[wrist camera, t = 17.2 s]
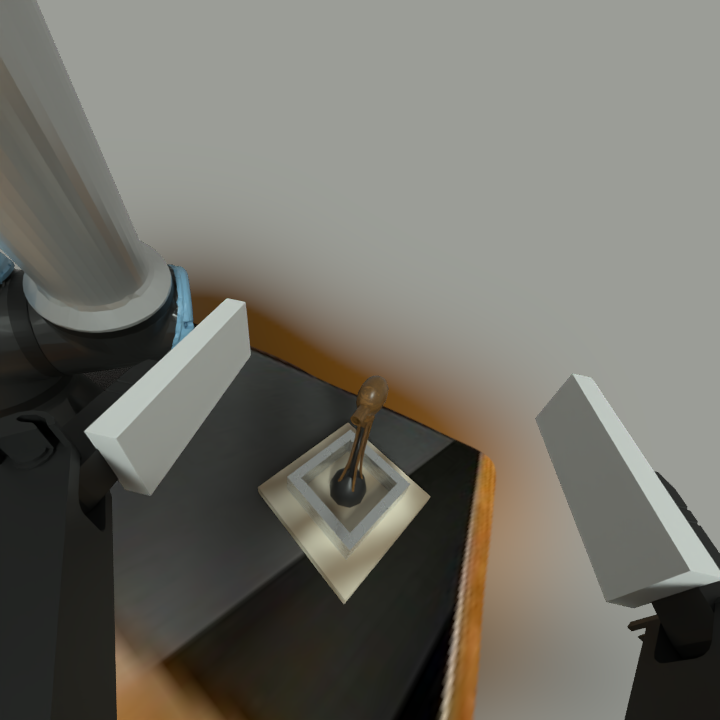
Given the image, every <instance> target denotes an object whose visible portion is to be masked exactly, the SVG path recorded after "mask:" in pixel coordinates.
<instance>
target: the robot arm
mask: <svg viewBox="0 0 720 720" xmlns="http://www.w3.org/2000/svg"><path fill="white" fill-rule="evenodd" d="M0 249H2V250H3V251H4V253H6V254H7V255H8V256H9V257H10V258H11V259H12V260H13V261H14V262H15V263H16V264H17V265H18V266H19V267H20V268H21V269H22V270H18V269H14V263H13V262H12V261H11V260H10V259H8V258H7V257H6V256H5V255H4V254H2V253H1V252H0V720H117V708H116V664H115V621H114V577H113V533H112V496H111V493H110V488H111V487H112V486H113V485H114V484H115V482H116V481H117V480H118V481H119V482H120V483H121V485H122V486H123V488H124V489H125V490H128V491H132V492H137V493H141V494H145V495H150V496H151V495H152V493H153V492H154V490H155V489H156V488H157V486H158V485H159V483H160V482H161V481H162V479H163V478H164V476H165V475H166V474H167V472H168V471H169V469H170V468H171V467H172V465H173V464H174V462H175V461H176V460H177V458H178V457H179V455H180V454H181V453H182V451H183V450H184V448H185V447H186V446H187V444H188V443H189V441H190V440H191V439H192V437H193V436H194V434H195V433H196V432H197V430H198V429H199V427H200V426H201V425H202V423H203V422H204V420H205V419H206V417H207V416H208V415H209V413H210V412H211V410H212V409H213V408H214V406H215V405H216V403H217V402H218V401H219V399H220V398H221V396H222V395H223V394H224V392H225V391H226V389H227V388H228V387H229V385H230V384H231V382H232V381H233V380H234V378H235V377H236V375H237V374H238V373H239V371H240V370H241V368H242V367H243V366H244V364H245V363H246V361H247V360H248V359H249V357H250V356H251V352H250V342H249V332H248V322H247V313H246V303H245V302H242V301H237V300H233V299H229V298H227V299H225V300H224V301H223V302H222V303H221V304H220V305H219V306H218V307H217V308H216V309H215V310H214V311H213V312H212V313H210V314H209V315H208V316H207V317H206V318H205V319H204V320H203V321H202V322H201V323H200V324H199V325H198V326H196V327H195V328H194V324H193V310H192V301H191V293H190V286H189V279H188V274H187V272H186V270H185V269H184V268H182V267H179V266H174V265H167V263H166V262H165V260H164V259H163V257H162V256H161V255H160V254H159V253H158V252H157V251H156V250H155V249H153V248H152V247H151V246H149V245H147V244H146V243H144V242H142V241H140V240H139V238H138V236H137V233H136V231H135V229H134V226H133V224H132V222H131V220H130V217H129V215H128V213H127V210H126V208H125V206H124V204H123V201H122V199H121V196H120V194H119V192H118V189H117V187H116V185H115V182H114V180H113V178H112V175H111V173H110V171H109V168H108V166H107V164H106V161H105V159H104V157H103V154H102V152H101V150H100V147H99V145H98V143H97V140H96V138H95V136H94V134H93V131H92V129H91V127H90V124H89V122H88V119H87V117H86V115H85V113H84V110H83V108H82V106H81V103H80V101H79V99H78V96H77V94H76V92H75V89H74V87H73V85H72V82H71V80H70V78H69V75H68V73H67V71H66V68H65V66H64V64H63V61H62V59H61V57H60V54H59V52H58V50H57V47H56V45H55V43H54V40H53V38H52V36H51V34H50V31H49V29H48V26H47V24H46V22H45V19H44V17H43V15H42V13H41V10H40V8H39V6H38V3H37V1H36V0H0ZM126 367H131V368H130V369H129V370H127V371H126V372H125V373H124V374H123V375H122V376H120V377H119V378H118V379H117V382H114V383H112V384H111V385H110V386H109V387H108V388H107V389H106V391H105V390H104V389H103V388H102V387H100V386H99V385H98V384H96V383H95V382H93V381H92V380H91V379H89V378H88V377H86V376H85V375H83V374H82V373H88V372H96V371H103V370H111V369H119V368H126ZM535 419H536V422H537V424H538V427H539V430H540V432H541V435H542V437H543V440H544V442H545V445H546V447H547V450H548V453H549V455H550V458H551V461H552V463H553V466H554V468H555V471H556V474H557V476H558V479H559V481H560V484H561V486H562V489H563V492H564V494H565V497H566V499H567V502H568V505H569V507H570V509H571V512H572V515H573V517H574V520H575V522H576V525H577V528H578V530H579V533H580V536H581V538H582V541H583V543H584V546H585V548H586V551H587V553H588V556H589V559H590V561H591V564H592V567H593V569H594V572H595V574H596V577H597V579H598V582H599V584H600V587H601V590H602V592H603V595H604V598H605V600H606V602H609V603H613V604H617V605H622V606H626V607H630V608H636V607H639V606H642V605H645V604H649V603H652V605H653V607H654V609H655V611H656V613H657V615H653V616H650V617H646V618H643V619H640V620H636V621H632V622H630V624H629V625H628V628H629V629H630V630H631V631H634V630H638V629H642V628H646V631H645V634H643V635H640V636H638V638H639V639H641V640H642V641H643V644H642V648H641V653H640V657H639V661H638V665H637V669H636V673H635V678H634V682H633V686H632V690H631V695H630V699H629V703H628V707H627V711H626V716H625V720H720V553H719V552H718V550H717V549H716V547H715V546H714V545H713V543H712V542H711V540H710V539H709V537H708V536H707V534H706V533H705V532H704V530H703V529H702V527H701V526H699V525H698V524H697V520H696V519H695V517H694V516H693V514H692V513H691V511H689V510H687V506H686V504H685V503H684V501H683V500H682V498H681V497H680V495H679V494H678V493H677V491H676V490H675V489H674V488H673V487H672V486H671V485H670V484H669V483H668V482H667V481H666V480H665V479H664V478H663V477H662V476H661V475H660V474H659V473H658V472H655V471H653V469H652V468H651V466H650V465H649V463H648V462H647V460H646V459H645V457H644V456H643V454H642V453H641V451H640V450H639V448H638V447H637V445H636V444H635V442H634V441H633V439H632V438H631V436H630V435H629V433H628V432H627V430H626V429H625V427H624V426H623V424H622V423H621V421H620V420H619V418H618V417H617V415H616V414H615V412H614V411H613V409H612V408H611V406H610V405H609V403H608V402H607V400H606V399H605V397H604V396H603V394H602V393H601V391H600V390H599V388H598V387H597V385H596V383H595V382H594V381H593V379H592V378H590V377H585V376H581V375H576V374H572V375H571V376H570V377H569V378H568V379H567V381H566V382H565V383H564V384H563V386H562V387H561V388H560V389H559V390H558V392H557V393H556V394H555V395H554V396H553V398H552V399H551V400H550V401H549V403H548V404H547V405H546V406H545V407H544V408H543V410H542V411H541V412H540V413H539V415H538V416H537V417H536V418H535Z"/></svg>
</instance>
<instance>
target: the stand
mask: <svg viewBox="0 0 720 720" xmlns="http://www.w3.org/2000/svg"><path fill="white" fill-rule="evenodd" d="M349 430H351V431H353V432H354V433H355V434H356V431H357V430H356V429H355V428H354V427H352V426H351V425H350V424H349V423H346V424H345V425H344V426H342V427H341V428H340V429H338V430H337V431H335V432H334V433H333V434H331V435H330V436H328V437H327V438H326V439H324V440H323V441H321V442H320V443H319V444H317V445H316V446H315V447H313V448H312V449H310V450H309V451H308V452H306V453H305V454H303V455H302V456H301V457H299V458H298V459H296V460H295V461H294V462H292V463H291V464H290V465H288V466H287V467H285V468H284V469H283V470H281V471H280V472H278V473H277V474H276V475H274V476H273V477H271V478H270V479H269V480H267V481H266V482H265V483H263V484H262V485H260V486H259V487H258V491H259V494H260V495H261V496H262V498H263V499H264V500H265V502H266V503H267V504H268V506H269V507H270V508H271V510H272V511H273V512H274V514H275V515H276V516H277V517H278V519H279V520H280V521H281V523H282V524H283V525H284V527H285V528H286V529H287V531H288V532H289V533H290V534H291V536H292V537H293V538H294V540H295V541H296V542H297V544H298V545H299V546H300V548H301V549H302V550H303V552H304V553H305V554H306V555H307V557H308V558H309V559H310V561H311V562H312V563H313V565H314V566H315V567H316V569H317V570H318V571H319V572H320V574H321V575H322V576H323V578H324V579H325V580H326V582H327V583H328V584H329V586H330V587H331V588H332V590H333V591H334V592H335V593H336V595H337V596H338V597H339V599H340V600H341V601H342V603H343V604H345V603H346V601H347V600H348V599H349V598H350V596H351V595H352V594H353V593H354V591H355V590H356V589H357V588H358V587H359V585H360V584H361V583H362V582H363V580H364V579H365V578H366V577H367V575H368V574H369V573H370V572H371V570H372V569H373V568H374V567H375V566H376V564H377V563H378V562H379V561H380V559H381V558H382V557H383V556H384V554H385V553H386V552H387V551H388V550H389V548H390V547H391V546H392V545H393V543H394V542H395V541H396V540H397V538H398V537H399V536H400V535H401V533H402V532H403V531H404V530H405V529H406V527H407V526H408V525H409V524H410V522H411V521H412V520H413V519H414V517H415V516H416V515H417V514H418V512H419V511H420V510H421V509H422V508H423V506H424V505H425V504H426V503H427V501H428V500H429V498H430V496H429V495H428V494H427V493H426V492H425V491H424V490H422V489H421V488H420V487H419V486H418V485H417V484H416V483H415V482H414V481H412V480H411V479H410V478H409V477H408V476H407V475H406V474H405V473H404V472H402V471H401V470H400V469H399V468H398V467H397V466H396V465H395V464H394V463H392V462H391V461H390V460H389V459H388V458H387V457H386V456H385V455H384V454H382V453H381V452H380V451H379V450H378V449H377V448H376V447H375V446H374V445H372V444H371V443H370V442H369V441H368V440H367V445H368V446H369V447H370V448H371V449H372V450H373V451H375V452H376V453H377V454H378V455H379V456H380V457H381V458H382V459H383V460H384V461H386V462H387V463H388V464H389V465H390V466H391V467H392V468H393V469H394V470H395V471H396V472H398V473H399V474H400V475H401V476H402V477H403V478H404V479H405V480H406V481H407V482H409V483H410V486H409V488H408V489H407V491H406V493H405V495H404V496H403V497H402V499H401V500H400V501H399V502H398V503H397V504H396V505H395V506H394V507H393V509H392V510H391V511H390V512H389V513H388V514H387V515H386V516H385V517H384V519H383V520H382V521H381V522H380V523H379V524H378V525H377V526H376V528H375V529H374V530H373V531H372V532H371V533H370V534H369V535H368V536H367V538H366V539H365V540H364V541H363V542H362V543H361V544H360V545H359V546H358V548H357V549H356V550H355V551H354V552H353V553H352V554H351V555H350V556H349V558H348V559H347V560H346V559H345V558H344V557H343V556H342V554H341V553H340V552H339V551H338V550H337V548H336V547H335V546H334V545H333V544H332V542H331V541H330V540H329V539H328V538H327V536H326V535H325V534H324V533H323V532H322V530H321V529H320V528H319V527H318V525H317V524H316V523H315V522H314V521H313V519H312V518H311V517H310V516H309V515H308V513H307V512H306V511H305V510H304V509H303V507H302V506H301V505H300V504H299V503H298V501H297V500H296V499H295V498H294V497H293V495H292V494H291V493H290V492H289V491H288V489H287V476H289V475H290V474H291V473H293V472H294V471H295V470H297V469H298V468H299V467H301V466H302V465H304V464H305V463H306V462H308V461H309V460H310V459H312V458H313V457H314V456H316V455H317V454H318V453H320V452H321V451H322V450H324V449H325V448H326V447H328V446H329V445H330V444H332V443H333V442H334V441H336V440H337V439H338V438H340V437H341V436H342V435H344V434H345V433H346V432H348V431H349ZM349 456H350V454H349V453H348V452H347V453H345V454H344V455H343V456H342V457H340V458H339V459H338V460H337V461H335V462H334V463H333V464H332V465H330V466H329V467H328V468H327V469H325V470H324V471H323V472H322V473H320V474H319V475H318V476H317V477H315V478H314V479H313V480H312V481H310V482H309V483H308V484H307V485H308V486H309V487H310V488H311V489H312V490H313V492H314V493H315V494H316V495H317V496H318V497H319V498H320V499H321V501H322V502H323V503H324V504H325V505H326V506H327V507H328V509H329V510H330V511H331V512H332V513H333V514H334V515H335V517H336V518H337V519H338V520H339V521H340V522H341V523H342V525H343V526H344V527H345V528H346V529H347V530H348V531H349V532H351V531H352V530H353V529H354V528H355V527H356V526H357V525H358V524H359V523H360V522H361V521H362V520H363V519H364V518H365V517H366V516H367V515H368V513H369V512H370V511H371V510H372V509H373V508H374V507H375V506H376V505H377V504H378V503H379V502H380V501H381V500H382V499H383V498H384V497H385V496H386V495H387V494H388V493H389V491H388V490H387V489H386V488H385V487H384V486H383V485H382V484H381V483H380V482H379V481H377V480H376V479H375V478H374V477H373V476H372V475H371V474H370V473H369V472H368V471H367V470H366V469H365V468H364V467H363V466H362V474H363V475H364V477H365V482H366V494H365V495H364V497H363V499H362V501H361V503H360V504H358V505H355V506H353V507H351V508H348V507H344V506H340V505H338V504H337V503H336V502H335V501H334V500H333V499H332V497H331V496H330V481H331V479H332V478H333V476H334V475H335V473H336V472H337V471H338V470H339V469H342V468H345V466H346V464H347V462H348V459H349ZM359 467H360V463H359V466H358V470H359Z"/></svg>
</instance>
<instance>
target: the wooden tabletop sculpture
mask: <svg viewBox="0 0 720 720" xmlns="http://www.w3.org/2000/svg"><path fill="white" fill-rule="evenodd" d="M387 394H388V386H387V382H386V380H385V379H384V378H383V377H380V376H372V377H370V378H368V379H367V380H366V381H365V382H364V383H363V385H362V386H361V388H360V390H359V392H358V395H357V401H356V404H357V410H356V411H355V412H354V414H353V415H352V416H351V418H350V419H351V422H352V423H353V424H354V425H357V431H356V435H355V439H354V443H353V446H352V450H351V453H350V456H349V459H348V462H347V464H346V466H345V468H342V469H339V470H338V471H337V472H336V473H335V475H334V476H333V478H332V479H331V481H330V496H331V497H332V499H333V500H334V501H335V502H336V503H337V504H338V505H340V506H344V507H348V508H351V507H353V506H355V505H358V504H360V503H361V501H362V499H363V497H364V495H365V494H366V482H365V477H364V475H363V474H362V465H363V458H364V452H365V448H366V444H367V440H368V437H369V433H370V430H371V426H372V423H373V420H374V418H375V416H374V414H376V413H377V412H378V411H380V409H381V408H382V406H383V404H384V402H385V401H386V397H387ZM360 457H361V458H360ZM359 461H360V467H359V470H358V466H359Z"/></svg>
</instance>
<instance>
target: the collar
mask: <svg viewBox="0 0 720 720" xmlns="http://www.w3.org/2000/svg"><path fill="white" fill-rule="evenodd" d="M355 435H356V434H355V433H354V432H353V431H351V430H349V431H348V432H346V433H345V434H344V435H342V436H341V437H340V438H338V439H337V440H336V441H334V442H333V443H332V444H330V445H329V446H328V447H326V448H325V449H324V450H322V451H321V452H320V453H318V454H317V455H316V456H314V457H313V458H312V459H310V460H309V461H308V462H306V463H305V464H304V465H302V466H301V467H299V468H298V469H297V470H295V471H294V472H293V473H291V474H290V475H289V476H287V489H288V491H289V492H290V493H291V494H292V495H293V497H294V498H295V499H296V500H297V501H298V503H299V504H300V505H301V506H302V507H303V509H304V510H305V511H306V512H307V513H308V515H309V516H310V517H311V518H312V519H313V521H314V522H315V523H316V524H317V525H318V527H319V528H320V529H321V530H322V532H323V533H324V534H325V535H326V536H327V538H328V539H329V540H330V541H331V542H332V544H333V545H334V546H335V547H336V548H337V550H338V551H339V552H340V553H341V554H342V556H343V557H344V558H345V559H346V560H347V559H348V558H349V556H350V555H351V554H352V553H353V552H354V551H355V550H356V549H357V548H358V546H359V545H360V544H361V543H362V542H363V541H364V540H365V539H366V538H367V536H368V535H369V534H370V533H371V532H372V531H373V530H374V529H375V528H376V526H377V525H378V524H379V523H380V522H381V521H382V520H383V519H384V517H385V516H386V515H387V514H388V513H389V512H390V511H391V510H392V509H393V507H394V506H395V505H396V504H397V503H398V502H399V501H400V500H401V499H402V497H403V496H404V495H405V493H406V491H407V489H408V488H409V486H410V483H409V482H407V481H406V480H405V479H404V478H403V477H402V476H401V475H400V474H399V473H398V472H396V471H395V470H394V469H393V468H392V467H391V466H390V465H389V464H388V463H387V462H386V461H384V460H383V459H382V458H381V457H380V456H379V455H378V454H377V453H376V452H375V451H373V450H372V449H371V448H370V447H369V446H368V445H367V444H366V448H365V452H364V458H363V465H362V466H363V467H364V468H365V469H366V470H367V471H368V472H369V473H370V474H371V475H372V476H373V477H374V478H375V479H376V480H377V481H379V482H380V483H381V484H382V485H383V486H384V487H385V488H386V489H387V490H388V491H389V493H388V494H387V495H386V496H385V497H384V498H383V499H382V500H381V501H380V502H379V503H378V504H377V505H376V506H375V507H374V508H373V509H372V510H371V511H370V512H369V513H368V515H367V516H366V517H365V518H364V519H363V520H362V521H361V522H360V523H359V524H358V525H357V526H356V527H355V528H354V529H353V530H352V531H351V532H349V531H348V530H347V529H346V528H345V527H344V526H343V525H342V523H341V522H340V521H339V520H338V519H337V518H336V517H335V515H334V514H333V513H332V512H331V511H330V510H329V509H328V507H327V506H326V505H325V504H324V503H323V502H322V501H321V499H320V498H319V497H318V496H317V495H316V494H315V493H314V492H313V490H312V489H311V488H310V487H309V486H308V485H307V484H308V483H309V482H310V481H312V480H313V479H314V478H315V477H317V476H318V475H319V474H320V473H322V472H323V471H324V470H325V469H327V468H328V467H329V466H330V465H332V464H333V463H334V462H335V461H337V460H338V459H339V458H340V457H342V456H343V455H344V454H345V453H347V452H348V453H349V454H350V453H351V450H352V446H353V443H354V439H355ZM360 458H361V457H360ZM359 463H360V461H359Z"/></svg>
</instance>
